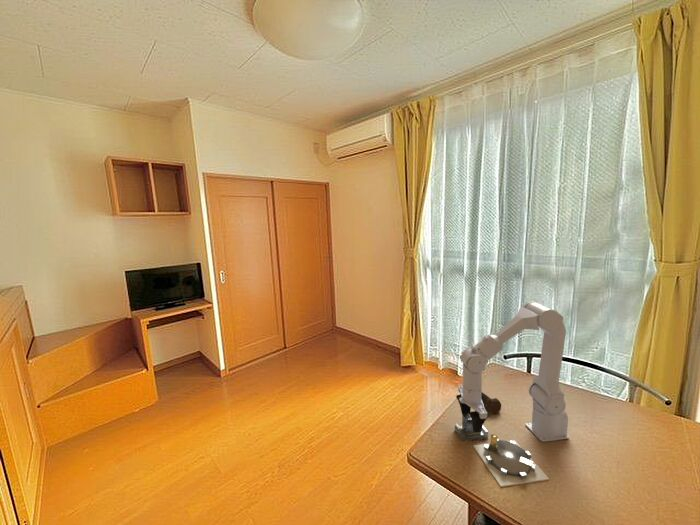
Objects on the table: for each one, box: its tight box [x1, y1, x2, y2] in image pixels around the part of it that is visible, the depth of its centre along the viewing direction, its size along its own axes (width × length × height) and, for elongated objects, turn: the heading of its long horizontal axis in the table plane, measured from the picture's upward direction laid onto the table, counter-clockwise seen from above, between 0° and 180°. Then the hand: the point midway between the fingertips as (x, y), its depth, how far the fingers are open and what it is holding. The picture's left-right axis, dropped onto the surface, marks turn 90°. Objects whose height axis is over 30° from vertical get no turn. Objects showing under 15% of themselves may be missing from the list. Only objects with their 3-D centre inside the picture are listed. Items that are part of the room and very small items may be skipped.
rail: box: [454, 423, 489, 442], centre depth 96 cm, size 9×5×2 cm, turn 96°
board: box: [473, 439, 550, 488], centre depth 85 cm, size 14×14×1 cm
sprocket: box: [484, 433, 535, 479], centre depth 84 cm, size 13×13×6 cm
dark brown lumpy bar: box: [481, 391, 502, 415], centre depth 112 cm, size 6×5×15 cm
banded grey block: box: [461, 413, 481, 434], centre depth 95 cm, size 5×3×5 cm, turn 96°
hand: (471, 423), depth 95 cm, fingers open, 6 cm apart
